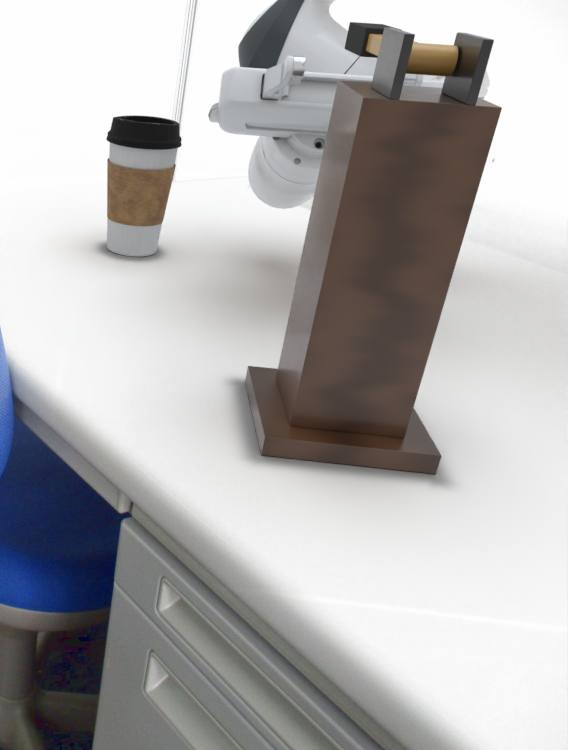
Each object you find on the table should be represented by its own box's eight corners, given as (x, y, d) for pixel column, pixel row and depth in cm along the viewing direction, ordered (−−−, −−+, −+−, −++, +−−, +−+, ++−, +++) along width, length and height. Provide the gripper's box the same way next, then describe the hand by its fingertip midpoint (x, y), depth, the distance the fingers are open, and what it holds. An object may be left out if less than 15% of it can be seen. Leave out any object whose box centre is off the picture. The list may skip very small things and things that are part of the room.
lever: (383, 51, 69) (389, 24, 68) (452, 80, 54) (461, 45, 53) (337, 48, 70) (343, 21, 69) (392, 75, 54) (400, 41, 53)
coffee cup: (86, 252, 101) (98, 118, 94) (108, 234, 108) (120, 107, 101) (157, 264, 98) (175, 127, 91) (174, 245, 105) (192, 116, 98)
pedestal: (393, 397, 71) (496, 30, 58) (436, 474, 60) (573, 47, 48) (244, 381, 72) (313, 18, 59) (261, 455, 61) (349, 32, 49)
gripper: (208, 91, 86) (230, 22, 72) (422, 106, 84) (485, 39, 70) (202, 153, 86) (222, 97, 72) (416, 170, 84) (479, 115, 70)
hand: (354, 68), depth 71 cm, fingers open, 8 cm apart
